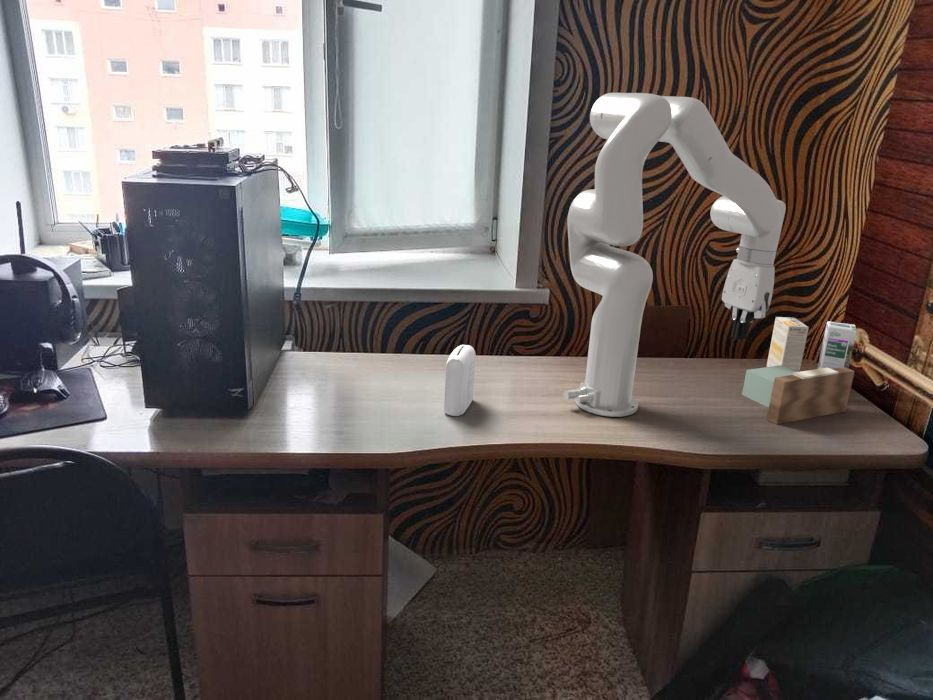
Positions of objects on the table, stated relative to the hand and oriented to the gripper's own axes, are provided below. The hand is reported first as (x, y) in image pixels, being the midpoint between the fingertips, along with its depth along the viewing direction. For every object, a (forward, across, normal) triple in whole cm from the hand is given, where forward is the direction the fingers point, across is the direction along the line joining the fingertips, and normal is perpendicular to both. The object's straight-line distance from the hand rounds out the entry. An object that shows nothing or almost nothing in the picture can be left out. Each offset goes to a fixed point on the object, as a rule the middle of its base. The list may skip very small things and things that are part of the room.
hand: (738, 338), depth 165 cm
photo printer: (+14, -7, -64) cm, 66 cm away
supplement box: (+10, 0, +17) cm, 19 cm away
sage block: (+11, +13, +2) cm, 17 cm away
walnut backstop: (+10, +20, +2) cm, 23 cm away
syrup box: (+10, +9, +22) cm, 25 cm away
